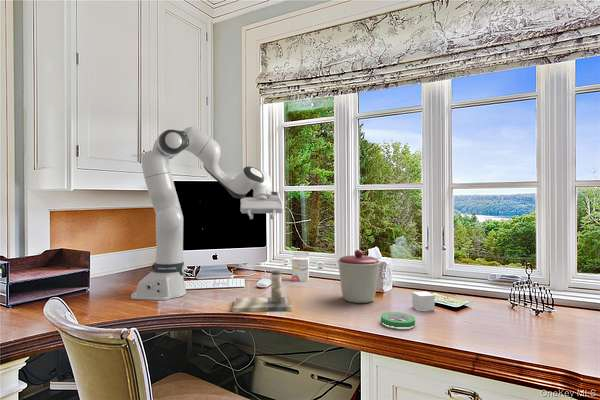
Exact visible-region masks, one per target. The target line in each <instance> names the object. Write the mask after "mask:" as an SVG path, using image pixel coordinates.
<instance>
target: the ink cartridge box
mask: <svg viewBox="0 0 600 400" xmlns="http://www.w3.org/2000/svg"><path fill="white" fill-rule="evenodd" d="M309 254H310V252H309V251H293V257H292V259H291V260H292V261H291V262H292V263H291V265H292V266H291V281H292V282H309V278H310V277H309V276H310V270H309V269H310V255H309Z"/></svg>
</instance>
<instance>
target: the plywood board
mask: <svg viewBox="0 0 600 400" xmlns="http://www.w3.org/2000/svg"><path fill="white" fill-rule="evenodd" d="M291 302H292V301H291V299H290V297H289V296H283V297H282V302H281V303H272V302H271V297H269V296H268V297H235V299H234V303H233V306H232V313H247V312H248V313H249V312H251V313H253V312H292V308H293V307H292V304H291Z"/></svg>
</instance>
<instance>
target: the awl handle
mask: <svg viewBox="0 0 600 400" xmlns="http://www.w3.org/2000/svg"><path fill="white" fill-rule="evenodd" d="M282 273H283V272H282V270H272V271H271V273H270V274H271V278H270V279H271V281H270V282H271V288H270V289H271V295H270V296H271V302H272V303H281V302H282V289H283V288H282V287H283V286H282V284H283V283H282V279H283V278H282Z"/></svg>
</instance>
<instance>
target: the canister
mask: <svg viewBox="0 0 600 400" xmlns="http://www.w3.org/2000/svg"><path fill="white" fill-rule="evenodd" d="M336 262H337V263H338V271H339V280H340V287H341V295H342V297H343V299H344V300H345V301H347V302H350V303H356V304H367V303H370V302H373V300H374V299H375V297H376V293H377V287H378V285H377V284H378V278H379V269H380V265H381V261H380V260H379V259H378V258H376V257H374V256H369V255H368V256H367V255H364V252H363V250H361V249H356V250H355V251H354V254H353V255H345V256H344V255H343V256H342V257H340V258H339V259H337V260H336Z"/></svg>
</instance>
